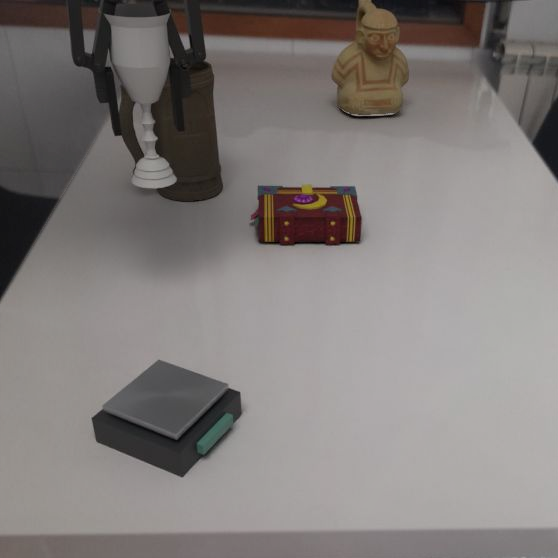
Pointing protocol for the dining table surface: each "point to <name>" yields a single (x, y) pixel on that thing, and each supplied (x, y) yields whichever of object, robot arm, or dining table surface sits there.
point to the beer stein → (182, 136)
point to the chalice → (142, 77)
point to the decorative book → (308, 214)
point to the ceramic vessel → (371, 65)
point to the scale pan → (166, 399)
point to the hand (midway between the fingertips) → (148, 129)
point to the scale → (165, 449)
